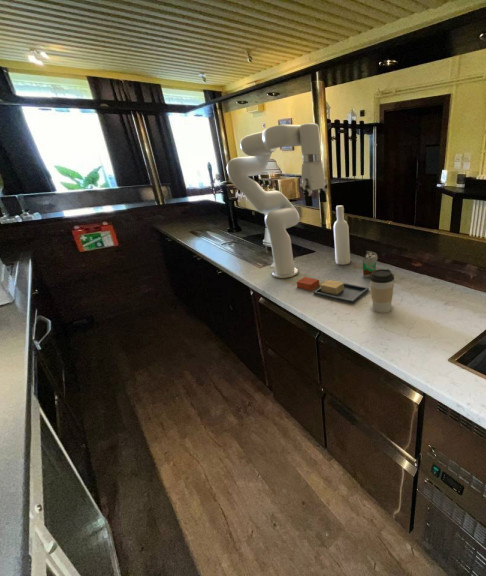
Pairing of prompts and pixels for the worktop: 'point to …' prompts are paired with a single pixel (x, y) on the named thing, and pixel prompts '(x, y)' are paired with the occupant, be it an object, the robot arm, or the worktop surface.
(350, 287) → the tray
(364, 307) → the worktop surface
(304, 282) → the pad
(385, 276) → the coffee cup
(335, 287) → the pad
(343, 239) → the bottle
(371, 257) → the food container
